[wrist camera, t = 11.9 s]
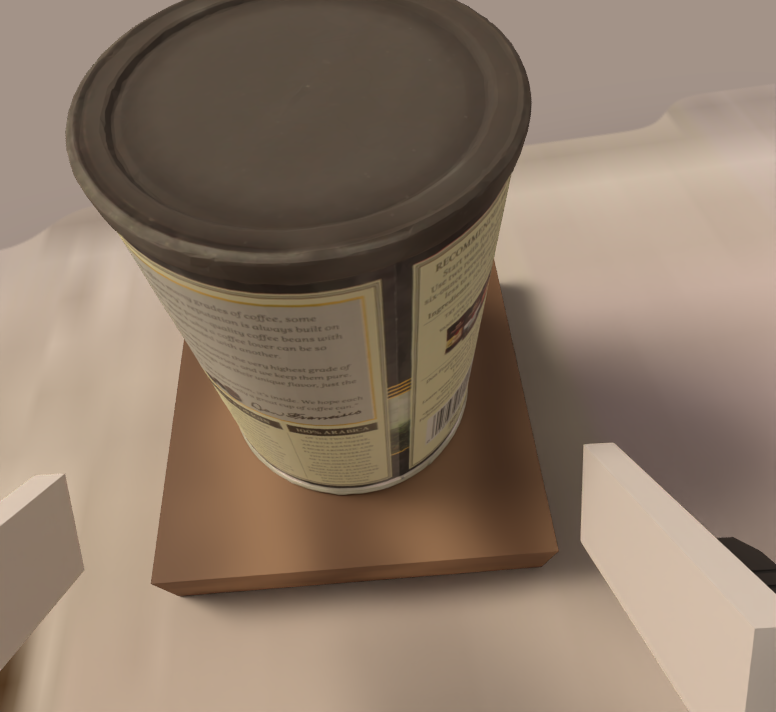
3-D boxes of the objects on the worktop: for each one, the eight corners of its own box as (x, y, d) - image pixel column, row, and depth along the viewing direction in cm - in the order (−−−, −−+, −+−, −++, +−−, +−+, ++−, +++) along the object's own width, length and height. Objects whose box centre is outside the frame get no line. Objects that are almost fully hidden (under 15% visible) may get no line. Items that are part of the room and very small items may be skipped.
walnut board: (483, 282, 31) (491, 245, 29) (541, 566, 23) (558, 550, 21) (211, 301, 31) (194, 266, 28) (178, 596, 23) (150, 583, 21)
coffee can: (260, 281, 28) (150, -39, 16) (470, 296, 27) (527, -28, 15) (203, 485, 22) (-31, 240, 10) (463, 510, 22) (541, 278, 10)
